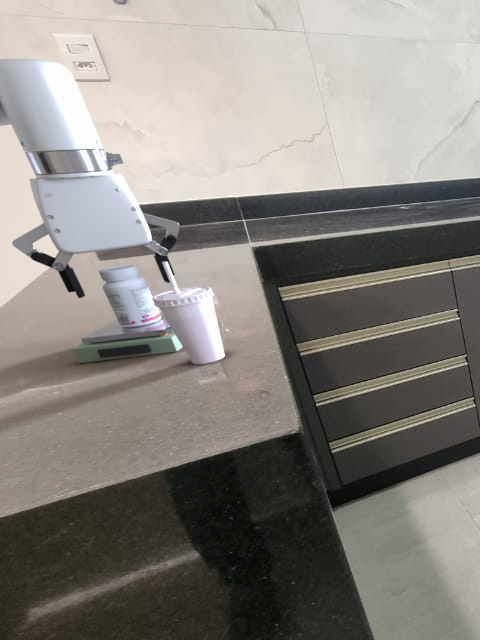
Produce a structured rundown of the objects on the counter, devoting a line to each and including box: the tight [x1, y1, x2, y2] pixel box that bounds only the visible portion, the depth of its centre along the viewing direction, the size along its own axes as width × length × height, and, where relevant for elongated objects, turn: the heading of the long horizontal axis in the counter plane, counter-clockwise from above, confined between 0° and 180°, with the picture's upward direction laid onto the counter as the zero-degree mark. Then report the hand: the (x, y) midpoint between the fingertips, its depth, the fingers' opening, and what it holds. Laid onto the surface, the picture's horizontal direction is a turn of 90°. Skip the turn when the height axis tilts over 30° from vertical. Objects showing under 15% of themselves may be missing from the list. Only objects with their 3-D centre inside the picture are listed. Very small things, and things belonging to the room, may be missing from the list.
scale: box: [71, 330, 184, 364], centre depth 81 cm, size 12×12×2 cm
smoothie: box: [152, 262, 226, 365], centre depth 72 cm, size 6×6×14 cm
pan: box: [80, 312, 172, 343], centre depth 80 cm, size 10×10×1 cm
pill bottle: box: [98, 264, 161, 328], centre depth 78 cm, size 5×5×8 cm
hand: (126, 288), depth 78 cm, fingers open, 9 cm apart
